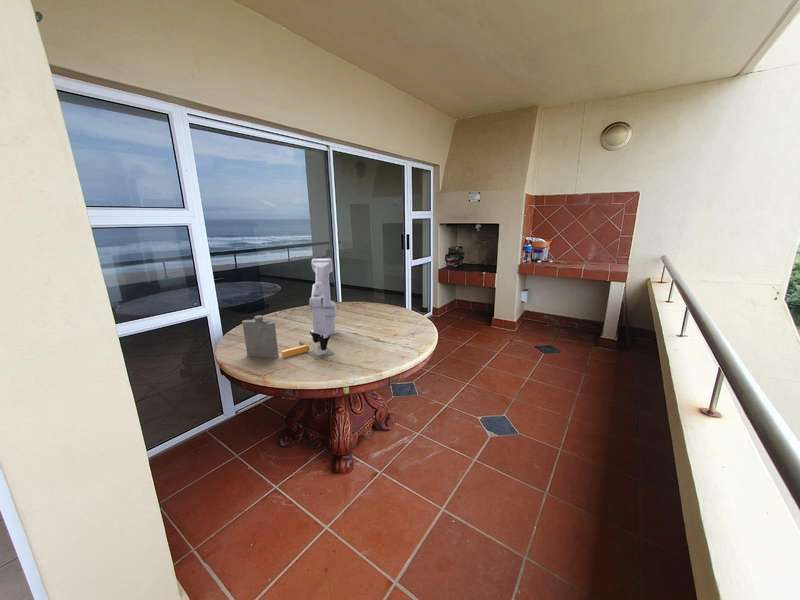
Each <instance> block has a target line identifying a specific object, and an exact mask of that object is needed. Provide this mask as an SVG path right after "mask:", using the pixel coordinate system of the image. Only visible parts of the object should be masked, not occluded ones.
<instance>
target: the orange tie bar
mask: <svg viewBox="0 0 800 600" xmlns="http://www.w3.org/2000/svg"><path fill="white" fill-rule="evenodd" d="M306 352H309V349H307V345H303V346H302V345H299V346H296V347H291V348H288V349H284V350H281V358H282V359H285V358H288V357H291V356H295V355H300V354H303V353H306Z"/></svg>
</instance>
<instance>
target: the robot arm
mask: <svg viewBox="0 0 800 600" xmlns="http://www.w3.org/2000/svg"><path fill="white" fill-rule="evenodd" d="M311 268H312V270H313V273H315V283H313V284H312V289H311V295H310V296H311V297H309V300H308V303H309V309H310V313H311V318H312V319H311V320H312V322H311V323H312V325H310V326H311V330H310V331H309V334H310V335H311V338H312V337H313V340H314V341H313V340H312V341H313V343H316V342H320V345H321V349H322V351H323V350H326V348H328V347H327V346H328V342H329V340H330V338H331V335H334V334H338V333H339V331H338V330H336V320H335V319H336V317H337V316H338V315H337V314H338V308H337V303H336V302H334V300H331V297H332V296H331V286H330V273H332V272H333V270H334V269H333V268H334V267H333V260H332V258H330V257H329V258H312V259H311Z"/></svg>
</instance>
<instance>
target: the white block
mask: <svg viewBox="0 0 800 600" xmlns="http://www.w3.org/2000/svg"><path fill="white" fill-rule="evenodd" d="M312 345H313V350H314V353H315V354H317V355H318V356H319V355H323V354H326V353H327V349H326V350H323V351H322V349H321V345H320V342H316V343H314V342H313V344H312Z"/></svg>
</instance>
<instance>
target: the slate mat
mask: <svg viewBox="0 0 800 600" xmlns="http://www.w3.org/2000/svg"><path fill="white" fill-rule="evenodd" d="M326 349H327V353H326V354H323V355H319V356H318V355H317V354H315V353H314V349H313V350H311V351H310V350H308V351H307V354H308V355H309V356H311V357H312V358H313V360H315V361H317V360H320V359H324V358H327V357H330V356H334V355H336V353H335V352H334V351H333V350H331V349H330V348H328V347H327V348H326Z"/></svg>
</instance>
